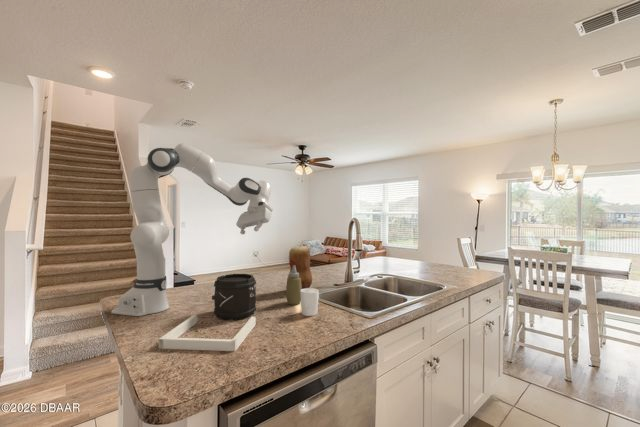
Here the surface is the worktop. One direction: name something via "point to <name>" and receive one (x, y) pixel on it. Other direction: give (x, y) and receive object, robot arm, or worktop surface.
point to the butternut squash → (301, 264)
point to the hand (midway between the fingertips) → (249, 232)
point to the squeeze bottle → (293, 287)
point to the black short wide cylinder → (234, 296)
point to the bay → (174, 342)
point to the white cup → (309, 301)
